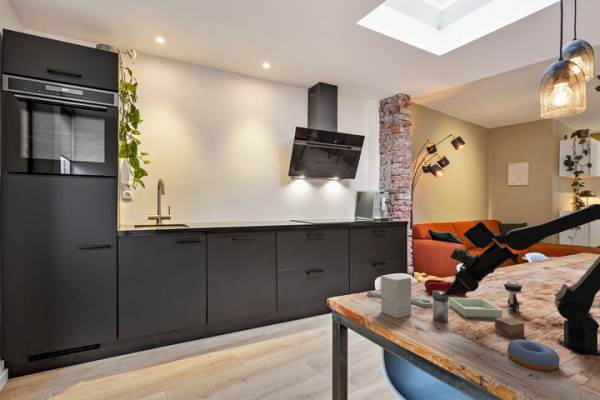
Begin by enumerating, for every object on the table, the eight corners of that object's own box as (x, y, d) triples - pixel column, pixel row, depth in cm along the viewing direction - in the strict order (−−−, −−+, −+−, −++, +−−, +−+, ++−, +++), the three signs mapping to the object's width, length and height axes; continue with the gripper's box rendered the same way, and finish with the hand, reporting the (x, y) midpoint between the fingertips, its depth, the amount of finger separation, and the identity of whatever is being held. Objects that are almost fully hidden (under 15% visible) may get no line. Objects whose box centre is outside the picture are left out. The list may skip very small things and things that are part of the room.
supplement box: (411, 315, 102) (412, 277, 102) (396, 319, 98) (396, 280, 99) (395, 308, 108) (395, 273, 109) (380, 311, 105) (380, 275, 105)
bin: (502, 319, 99) (502, 309, 99) (464, 317, 100) (464, 308, 100) (482, 306, 111) (482, 298, 111) (449, 305, 112) (449, 297, 112)
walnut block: (524, 337, 86) (524, 323, 86) (511, 339, 84) (511, 325, 84) (507, 330, 91) (507, 316, 91) (494, 332, 89) (494, 318, 89)
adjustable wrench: (365, 296, 124) (365, 292, 124) (372, 293, 129) (372, 289, 129) (430, 309, 109) (430, 304, 109) (434, 304, 114) (434, 299, 114)
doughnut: (552, 377, 65) (551, 355, 65) (500, 360, 73) (500, 340, 73) (566, 368, 71) (565, 347, 71) (516, 353, 79) (516, 335, 79)
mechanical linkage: (426, 294, 126) (426, 282, 126) (424, 290, 133) (424, 278, 133) (468, 298, 122) (468, 286, 122) (464, 293, 129) (464, 281, 129)
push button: (518, 315, 102) (517, 286, 102) (500, 311, 106) (500, 283, 107) (524, 311, 106) (524, 283, 107) (506, 307, 111) (506, 280, 111)
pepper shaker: (451, 323, 95) (451, 294, 95) (435, 322, 95) (435, 294, 95) (445, 317, 100) (445, 290, 100) (430, 317, 100) (430, 290, 100)
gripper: (470, 237, 101) (434, 266, 107) (464, 242, 86) (423, 275, 92) (498, 263, 97) (459, 292, 103) (497, 274, 81) (451, 307, 87)
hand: (448, 290), depth 96 cm, fingers open, 9 cm apart
